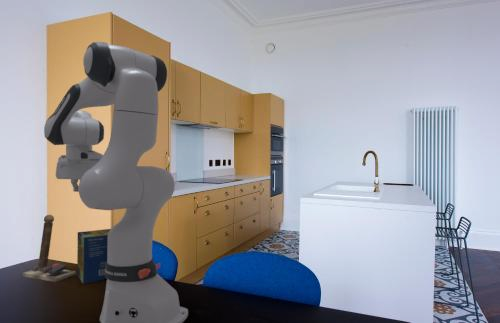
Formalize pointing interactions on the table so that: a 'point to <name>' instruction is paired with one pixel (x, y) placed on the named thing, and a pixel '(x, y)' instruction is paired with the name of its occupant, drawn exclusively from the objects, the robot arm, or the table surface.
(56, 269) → the block
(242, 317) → the table surface
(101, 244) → the protein box
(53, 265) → the button
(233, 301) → the table surface
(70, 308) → the table surface
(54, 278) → the board
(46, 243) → the lever
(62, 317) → the table surface
